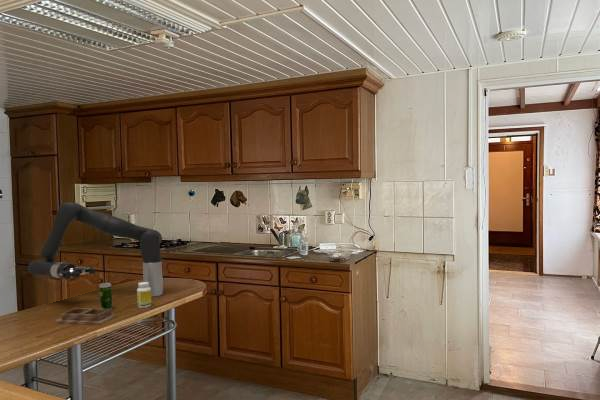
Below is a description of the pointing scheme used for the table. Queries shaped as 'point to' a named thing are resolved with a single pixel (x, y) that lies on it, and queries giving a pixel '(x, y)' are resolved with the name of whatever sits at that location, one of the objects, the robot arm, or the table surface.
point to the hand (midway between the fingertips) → (87, 273)
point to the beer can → (105, 296)
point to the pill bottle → (143, 295)
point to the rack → (86, 316)
